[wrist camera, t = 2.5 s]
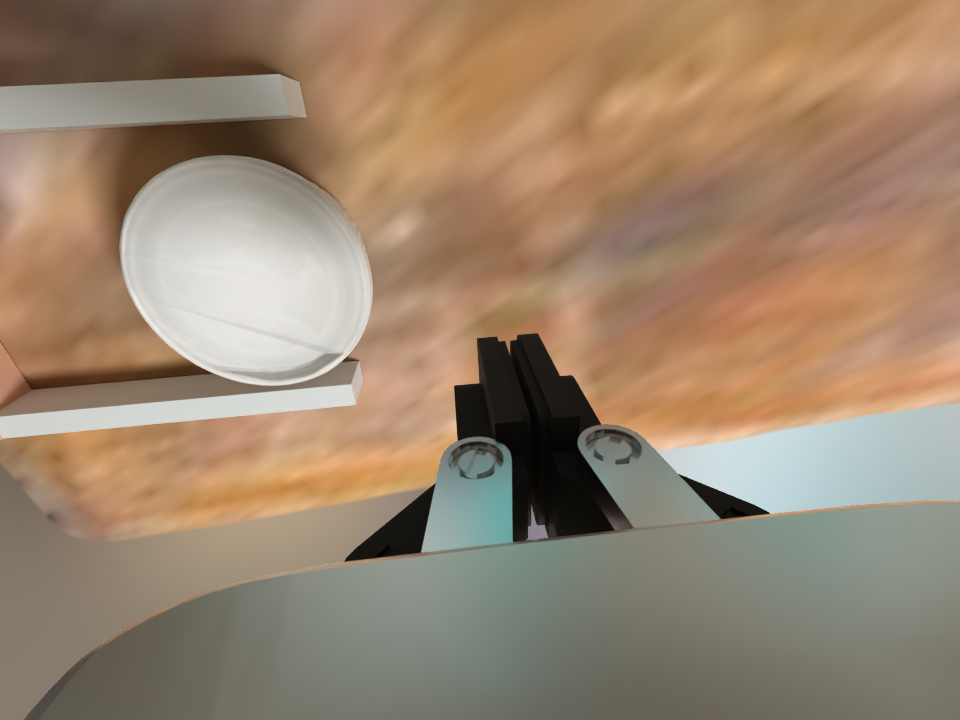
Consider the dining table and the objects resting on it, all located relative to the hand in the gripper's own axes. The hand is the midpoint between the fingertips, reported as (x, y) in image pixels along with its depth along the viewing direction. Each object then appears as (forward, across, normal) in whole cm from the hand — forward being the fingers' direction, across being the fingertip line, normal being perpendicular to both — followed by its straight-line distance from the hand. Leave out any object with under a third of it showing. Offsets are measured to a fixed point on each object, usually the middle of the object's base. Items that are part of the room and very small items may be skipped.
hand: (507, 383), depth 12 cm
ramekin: (+15, +11, -1) cm, 19 cm away
